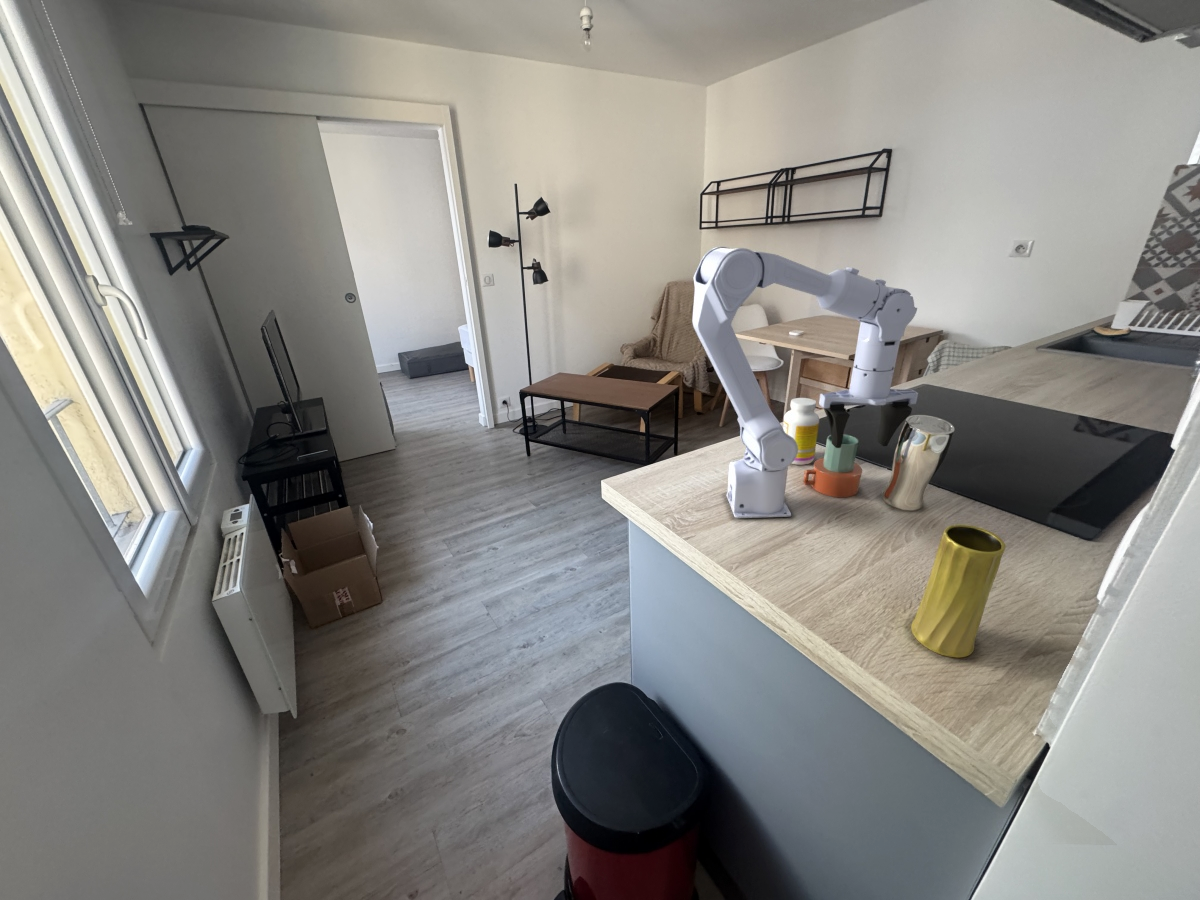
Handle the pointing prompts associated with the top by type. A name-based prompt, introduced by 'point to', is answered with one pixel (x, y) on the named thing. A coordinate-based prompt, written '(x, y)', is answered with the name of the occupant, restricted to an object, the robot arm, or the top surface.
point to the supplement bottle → (802, 428)
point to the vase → (958, 590)
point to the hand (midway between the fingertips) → (858, 444)
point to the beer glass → (917, 460)
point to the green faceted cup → (841, 454)
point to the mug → (833, 480)
